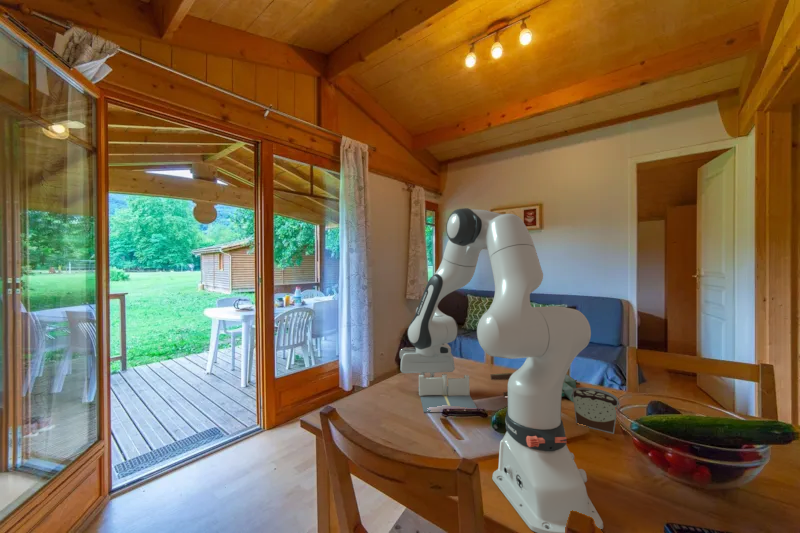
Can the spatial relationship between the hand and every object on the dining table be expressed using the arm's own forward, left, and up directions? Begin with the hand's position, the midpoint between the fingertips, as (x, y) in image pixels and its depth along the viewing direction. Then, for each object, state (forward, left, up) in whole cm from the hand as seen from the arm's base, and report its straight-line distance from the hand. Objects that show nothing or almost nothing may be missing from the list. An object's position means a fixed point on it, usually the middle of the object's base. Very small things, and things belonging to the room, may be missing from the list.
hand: (427, 383), depth 118 cm
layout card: (-5, -6, -4) cm, 9 cm away
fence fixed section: (-3, -10, -4) cm, 11 cm away
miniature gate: (+3, -43, -4) cm, 43 cm away
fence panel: (-3, -2, -3) cm, 5 cm away
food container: (-25, -47, -4) cm, 54 cm away
